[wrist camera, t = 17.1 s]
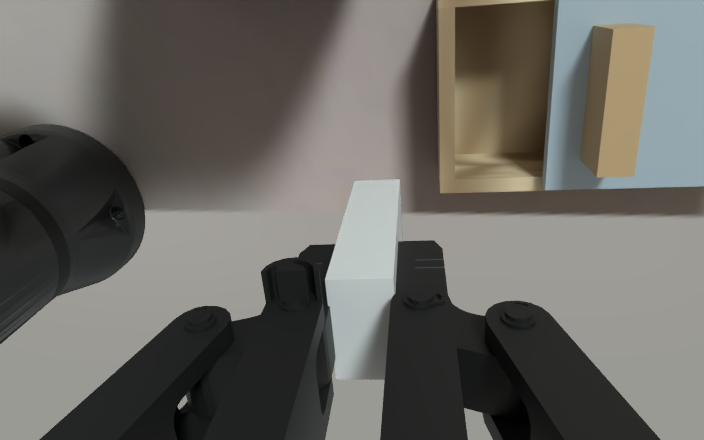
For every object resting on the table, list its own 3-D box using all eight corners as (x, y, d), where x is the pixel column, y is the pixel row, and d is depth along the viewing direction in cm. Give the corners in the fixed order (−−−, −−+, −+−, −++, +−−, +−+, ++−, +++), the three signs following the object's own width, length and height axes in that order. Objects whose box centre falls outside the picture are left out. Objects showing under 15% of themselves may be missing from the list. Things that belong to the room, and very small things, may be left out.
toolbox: (437, 163, 43) (440, 193, 36) (435, -9, 38) (438, -10, 31) (775, 152, 39) (843, 183, 33) (822, -41, 34) (914, -49, 28)
